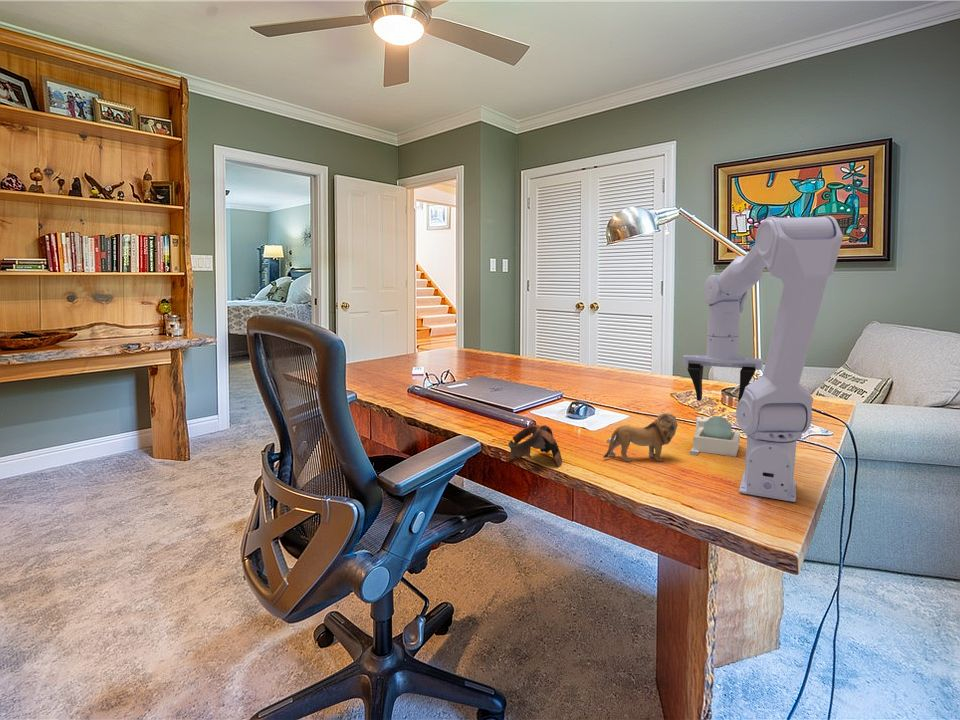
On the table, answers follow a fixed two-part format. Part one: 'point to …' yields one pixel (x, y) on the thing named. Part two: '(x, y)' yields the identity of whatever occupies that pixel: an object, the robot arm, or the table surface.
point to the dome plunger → (717, 428)
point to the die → (701, 422)
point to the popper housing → (716, 443)
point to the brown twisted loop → (535, 443)
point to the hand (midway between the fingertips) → (719, 401)
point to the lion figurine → (644, 436)
